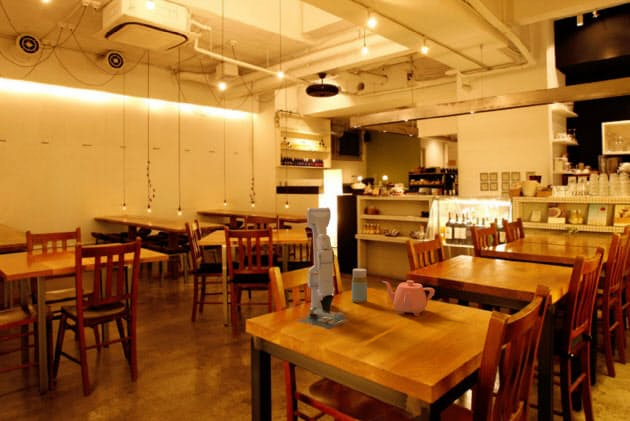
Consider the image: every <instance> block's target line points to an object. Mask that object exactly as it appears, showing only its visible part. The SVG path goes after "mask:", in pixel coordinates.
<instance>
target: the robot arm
mask: <svg viewBox="0 0 630 421" xmlns="http://www.w3.org/2000/svg"><path fill="white" fill-rule="evenodd" d="M331 214H332V213H331V208H330V207H308V208H307V209H306V222H307V223H306V224H307V227H308V228H310V229H311V232H312V244H313V245H312V246H313V265H312V266H311V267H310V268H309V269H308V271H307V286H308V288H310V290H311V292H310V293H311V294H310V296H311V298H310V299H311V301H310V302H311V303H310V305H311V306H310V307H316V308H317V309H322V310H326V311H331V306H333V300H334V298H335V295H334V293H335V291H336V290H335V289H336V288H335V287H334V264H335V259H336V258H335V251H334V249H333V248H334V247H332V242H331V237H330V236H329V235H328V234H327V233H328V232H327V230H328V229H327V228H328V227H329V225H330V221H331V217H332V216H331Z"/></svg>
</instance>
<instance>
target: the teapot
mask: <svg viewBox="0 0 630 421" xmlns="http://www.w3.org/2000/svg"><path fill="white" fill-rule="evenodd" d="M381 282H382V283H383V284H384V285H385V286H386V289H387V294H388V297H389V299H390V300H391V301H392V303H393V306H394V309H395V310H396V311H398V312H397V314H398V315H405V313H413V316H415V317H420V316H421V313H422V312H424V311H425V309H426V308H427V306H428V301H430V300H431V299H432V297H433V296H434V295H435V292H436V290H435V289H434V288H433V287H424V286H423V285H422V284H421V283H417V282H415V281H414V280H411V279H409V280H406V282H401V283H399V284H398V286H397V288H396V290H395V292H394V291H393V289H392V286H391V284H390V282H389V281H384V280H381ZM426 291H428V292H429V294H428V296H427V294H426Z"/></svg>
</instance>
